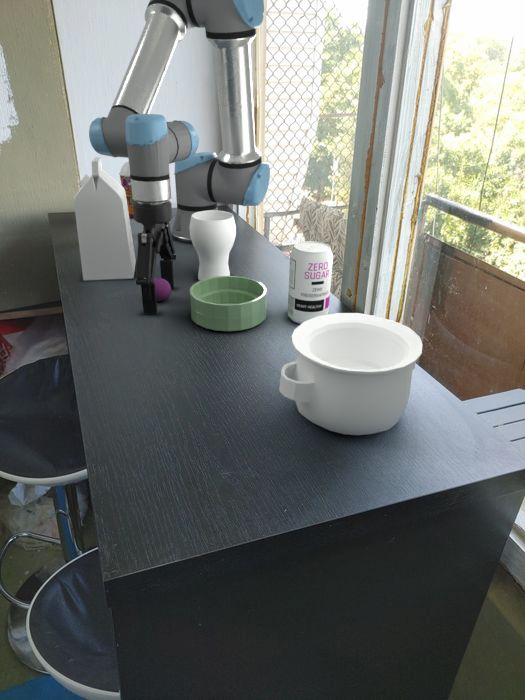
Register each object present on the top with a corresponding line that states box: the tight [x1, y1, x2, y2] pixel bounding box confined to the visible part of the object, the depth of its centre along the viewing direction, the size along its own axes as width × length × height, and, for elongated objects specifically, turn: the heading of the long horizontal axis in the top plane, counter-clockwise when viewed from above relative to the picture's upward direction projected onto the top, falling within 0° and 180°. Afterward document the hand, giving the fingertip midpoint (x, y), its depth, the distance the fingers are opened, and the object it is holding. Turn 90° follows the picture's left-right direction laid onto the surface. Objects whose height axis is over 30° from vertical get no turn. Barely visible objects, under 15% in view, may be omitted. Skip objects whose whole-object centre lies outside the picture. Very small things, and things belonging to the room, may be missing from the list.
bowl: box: [188, 275, 268, 332], centre depth 105 cm, size 15×15×6 cm
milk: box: [73, 156, 137, 281], centre depth 122 cm, size 12×12×26 cm
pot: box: [278, 312, 424, 436], centre depth 75 cm, size 22×17×12 cm
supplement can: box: [287, 240, 334, 325], centre depth 103 cm, size 8×8×15 cm
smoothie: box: [119, 161, 135, 219], centre depth 169 cm, size 8×8×20 cm
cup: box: [189, 210, 237, 281], centre depth 122 cm, size 11×11×15 cm
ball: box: [153, 277, 172, 302], centre depth 112 cm, size 5×5×5 cm
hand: (159, 300), depth 113 cm, fingers open, 13 cm apart
